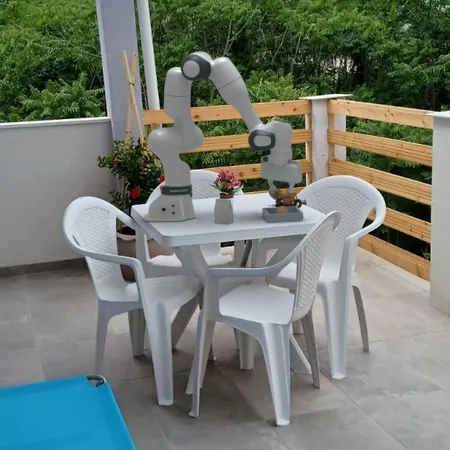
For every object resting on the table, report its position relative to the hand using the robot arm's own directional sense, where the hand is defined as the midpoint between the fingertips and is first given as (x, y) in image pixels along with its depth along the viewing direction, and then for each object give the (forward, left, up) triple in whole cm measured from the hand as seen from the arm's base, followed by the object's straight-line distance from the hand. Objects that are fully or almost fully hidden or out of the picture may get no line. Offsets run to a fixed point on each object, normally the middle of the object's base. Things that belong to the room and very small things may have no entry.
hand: (281, 191), depth 327 cm
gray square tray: (0, -1, -11) cm, 11 cm away
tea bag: (-25, -4, -12) cm, 28 cm away
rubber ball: (0, -1, -11) cm, 11 cm away
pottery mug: (+5, +11, -12) cm, 17 cm away
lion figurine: (+5, +29, -12) cm, 31 cm away
